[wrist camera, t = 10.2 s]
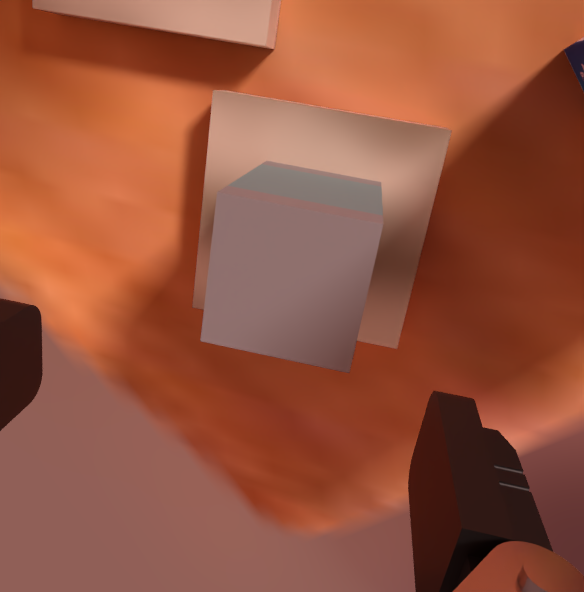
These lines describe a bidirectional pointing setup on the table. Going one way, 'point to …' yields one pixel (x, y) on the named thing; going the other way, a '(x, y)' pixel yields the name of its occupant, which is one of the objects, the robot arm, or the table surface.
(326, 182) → the block
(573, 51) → the blue food carton
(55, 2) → the stand
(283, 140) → the stand
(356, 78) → the table surface
